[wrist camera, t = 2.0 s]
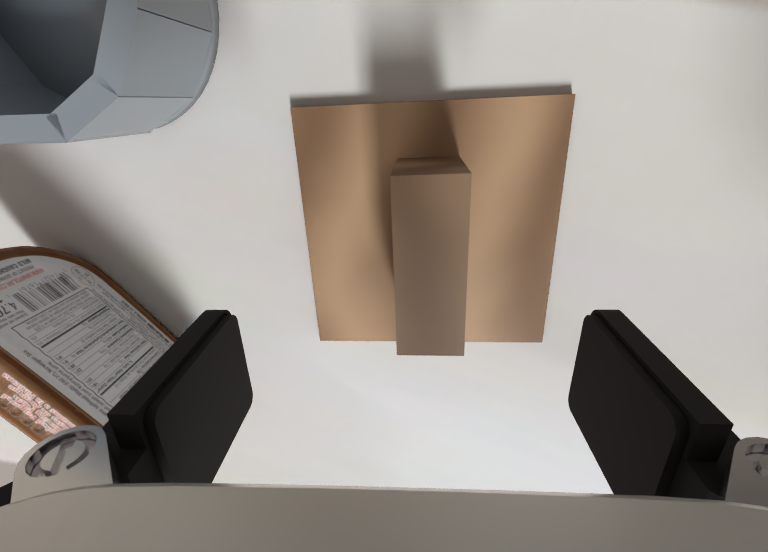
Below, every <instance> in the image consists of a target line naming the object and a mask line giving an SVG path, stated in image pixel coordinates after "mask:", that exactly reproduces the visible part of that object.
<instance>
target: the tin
mask: <svg viewBox="0 0 768 552" xmlns="http://www.w3.org/2000/svg"><path fill="white" fill-rule="evenodd" d="M176 340H177V339H176V338H175V337H174V336H173V335H172V334H171V333H170V332H169V331H168V330H166V329H165V328H164V327H163V326H162V325H161V324H160V323H159V322H158V321H157V320H156V319H154V318H153V317H152V316H151V315H150V314H149V313H148V312H147V311H146V310H145V309H143V308H142V307H141V306H140V305H139V304H138V303H137V302H136V301H135V300H134V299H132V298H131V297H130V296H129V295H128V294H127V293H126V292H125V291H124V290H123V289H121V288H120V287H119V286H118V285H117V284H116V283H115V282H114V281H113V280H112V279H110V278H109V277H108V276H107V275H106V274H104V273H103V272H102V271H100V270H99V269H97V268H96V267H94V266H93V265H91V264H89V263H87V262H85V261H83V260H81V259H79V258H77V257H75V256H72V255H70V254H67V253H64V252H60V251H57V250H52V249H47V248H41V247H33V246H20V247H10V248H3V249H0V416H1V417H3V418H4V419H5V420H7V421H8V422H9V423H11V424H12V425H13V426H15V427H16V428H18V429H19V430H20V431H22V432H23V433H24V434H26V435H27V436H28V437H30V438H31V439H32V440H34V441H35V442H36V443H40V442H41V441H43V440H44V439H46V438H47V437H49V436H51V435H54V434H56V433H58V432H60V431H62V430H66V429H69V428H72V427H75V426H82V425H94V426H98V427H100V428H102V427H103V426H104V425H105V424H106V423H107V422H108V421H109V419H108V417H107V413H108V412H109V411H110V410H111V409H112V408H113V407H114V406H115V405H116V404H117V403H118V402H119V401H120V399H121V398H122V397H123V396H124V395H125V394H126V393H127V392H128V391H129V390H130V389H131V388H132V387H133V386H134V385H135V384H136V383H137V382H138V381H139V379H140V378H141V377H142V376H143V375H144V374H145V373H146V372H147V371H148V370H149V369H150V368H151V367H152V366H153V365H154V364H155V363H156V362H157V361H158V359H159V358H160V357H161V356H162V355H163V354H164V353H165V352H166V351H167V350H168V349H169V348H170V347H171V346H172V345H173V344H174V343H175V342H176Z"/></svg>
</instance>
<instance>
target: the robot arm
mask: <svg viewBox="0 0 768 552" xmlns="http://www.w3.org/2000/svg"><path fill="white" fill-rule="evenodd" d="M252 399H253V393H252V387H251V383H250V378H249V373H248V368H247V363H246V359H245V354H244V349H243V344H242V339H241V335H240V330H239V325H238V320H237V318H236V316H235V315H231V313H230V312H229V311H228V310H206V311H204V312H203V313H202V314H201V315H200V316H199V317H198V318H197V319H196V320H195V322H194V323H193V324H192V325H191V326H190V327H189V328H188V329H187V330H186V331H185V332H184V333H183V334H182V335H181V336H180V337H179V338H178V339H177V340H176V342H175V343H174V344H173V345H172V346H171V347H170V348H169V349H168V350H167V351H166V352H165V353H164V354H163V355H162V356H161V357H160V358H159V359H158V361H157V362H156V363H155V364H154V365H153V366H152V367H151V368H150V369H149V370H148V371H147V372H146V373H145V374H144V375H143V376H142V377H141V378H140V379H139V381H138V382H137V383H136V384H135V385H134V386H133V387H132V388H131V389H130V390H129V391H128V392H127V393H126V394H125V395H124V396H123V397H122V398H121V399H120V401H119V402H118V403H117V404H116V405H115V406H114V407H113V408H112V409H111V410H110V411H109V412H108V413H107V417H108V419H109V421H108V422H107V423H106V424H105V425H104V426H103V427H102V428H100V427H98V426H94V425H82V426H75V427H72V428H69V429H66V430H62V431H60V432H58V433H56V434H54V435H51V436H49V437H47V438H46V439H44V440H43V441H41V442H40V443H38V444H36V445H35V446H34V447H33V448H32V449H30V450H29V451H28V452H27V453H26V454H25V455H24V456H23V457H22V459H21V460H20V461H19V462H18V464H17V466H16V469H15V472H14V478H13V482H11V483H9V484H7V485H5V486H2V487H0V552H768V439H767V438H760V437H749V438H744V439H742V440H740V439H739V438H738V437H737V436H736V435H735V433H734V432H733V431H732V430H731V429H732V427H733V425H734V424H733V423H732V422H731V421H730V420H729V419H728V418H727V417H726V416H725V415H724V414H723V413H722V412H721V411H720V410H719V409H718V408H717V407H716V406H715V405H714V404H713V403H712V402H711V401H710V400H709V399H708V398H707V397H706V396H705V395H704V394H703V393H702V392H701V391H700V390H699V389H698V388H697V387H696V386H695V385H694V384H693V383H692V382H691V381H690V380H689V379H688V378H687V377H686V376H685V375H684V374H683V373H682V372H681V371H680V370H679V369H678V368H677V367H676V366H675V365H674V364H673V363H672V362H671V361H670V360H669V359H668V358H667V357H666V356H665V355H664V354H663V353H662V352H661V351H660V350H659V349H658V348H657V347H656V346H655V345H654V344H653V343H652V342H651V341H650V340H649V339H648V338H647V337H646V336H645V335H644V334H643V333H642V332H641V331H640V330H639V329H638V328H637V327H636V326H635V325H634V324H633V323H632V322H631V321H630V320H629V319H628V318H627V317H626V316H625V315H624V314H623V313H622V312H621V311H620V310H594V311H593V312H592V313H591V315H587V316H586V317H585V318H584V321H583V326H582V331H581V336H580V341H579V346H578V351H577V356H576V361H575V366H574V371H573V376H572V381H571V386H570V391H569V397H568V402H569V407H570V410H571V413H572V414H573V416H574V418H575V420H576V422H577V424H578V426H579V428H580V430H581V432H582V434H583V436H584V438H585V440H586V441H587V443H588V445H589V447H590V449H591V451H592V453H593V455H594V457H595V459H596V461H597V463H598V465H599V466H600V468H601V470H602V472H603V474H604V476H605V478H606V480H607V482H608V484H609V486H610V488H611V490H612V492H613V493H614V494H594V493H563V492H533V491H502V490H471V489H436V488H400V487H362V486H321V485H273V484H226V483H212V481H213V479H214V477H215V475H216V473H217V472H218V470H219V468H220V466H221V464H222V462H223V460H224V458H225V456H226V454H227V452H228V450H229V448H230V446H231V444H232V442H233V440H234V438H235V436H236V434H237V432H238V430H239V428H240V426H241V424H242V422H243V420H244V418H245V416H246V414H247V412H248V410H249V409H250V406H251V404H252Z"/></svg>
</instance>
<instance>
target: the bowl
mask: <svg viewBox="0 0 768 552" xmlns="http://www.w3.org/2000/svg"><path fill="white" fill-rule="evenodd" d="M218 38H219V14H218V5H217V0H0V144H28V143H67V142H75V141H83V140H92V139H100V138H108V137H117V136H125V135H133V134H142V133H150V132H152V131H153V130H154V129H156V128H159V127H162V126H164V125H166V124H169V123H171V122H173V121H174V120H176V119H177V118H179V117H180V116H182V115H183V114H184V113H185V112H186V111H187V110H188V109H189V108H191V107H192V106H193V104H194V103H195V102H196V100H197V99H198V98H199V97H200V95H201V94H202V92H203V90H204V88H205V86H206V85H207V83H208V80H209V78H210V75H211V72H212V70H213V67H214V63H215V58H216V54H217V48H218Z"/></svg>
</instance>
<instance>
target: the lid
mask: <svg viewBox="0 0 768 552" xmlns="http://www.w3.org/2000/svg"><path fill="white" fill-rule="evenodd" d="M574 100H575V94H562V95H541V96H520V97H499V98H479V99H458V100H437V101H416V102H396V103H375V104H354V105H333V106H313V107H292V108H291V115H292V123H293V131H294V139H295V146H296V154H297V162H298V170H299V178H300V186H301V194H302V202H303V209H304V217H305V225H306V233H307V241H308V249H309V257H310V265H311V272H312V280H313V288H314V296H315V304H316V312H317V320H318V328H319V335H320V341H396V344H397V355H438V356H464V343H465V342H542V339H543V331H544V324H545V316H546V309H547V302H548V294H549V287H550V279H551V272H552V264H553V257H554V249H555V242H556V234H557V227H558V220H559V212H560V205H561V197H562V190H563V182H564V175H565V167H566V160H567V152H568V145H569V137H570V130H571V123H572V115H573V108H574Z"/></svg>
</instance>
